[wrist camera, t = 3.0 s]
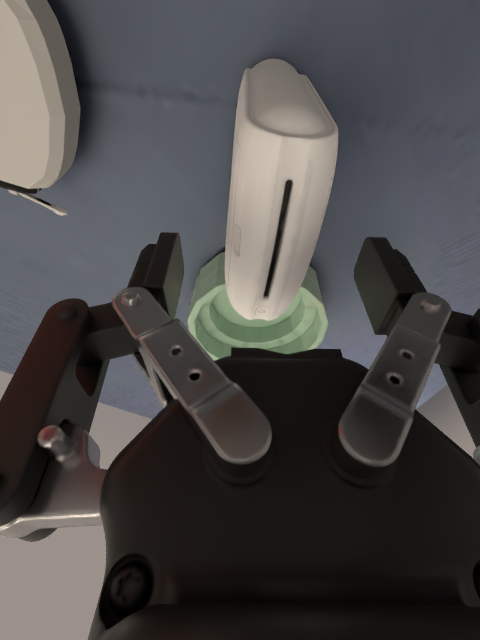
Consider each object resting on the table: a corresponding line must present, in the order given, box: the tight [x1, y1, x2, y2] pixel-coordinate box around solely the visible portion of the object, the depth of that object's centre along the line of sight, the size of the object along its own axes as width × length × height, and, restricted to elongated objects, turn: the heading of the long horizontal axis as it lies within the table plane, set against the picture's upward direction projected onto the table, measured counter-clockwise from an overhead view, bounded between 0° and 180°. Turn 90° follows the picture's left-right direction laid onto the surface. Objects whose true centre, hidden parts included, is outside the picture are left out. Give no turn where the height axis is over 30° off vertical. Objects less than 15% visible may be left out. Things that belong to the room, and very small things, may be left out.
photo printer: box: [224, 59, 338, 321], centre depth 17 cm, size 10×4×12 cm, turn 174°
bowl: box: [187, 252, 328, 360], centre depth 29 cm, size 12×12×5 cm
